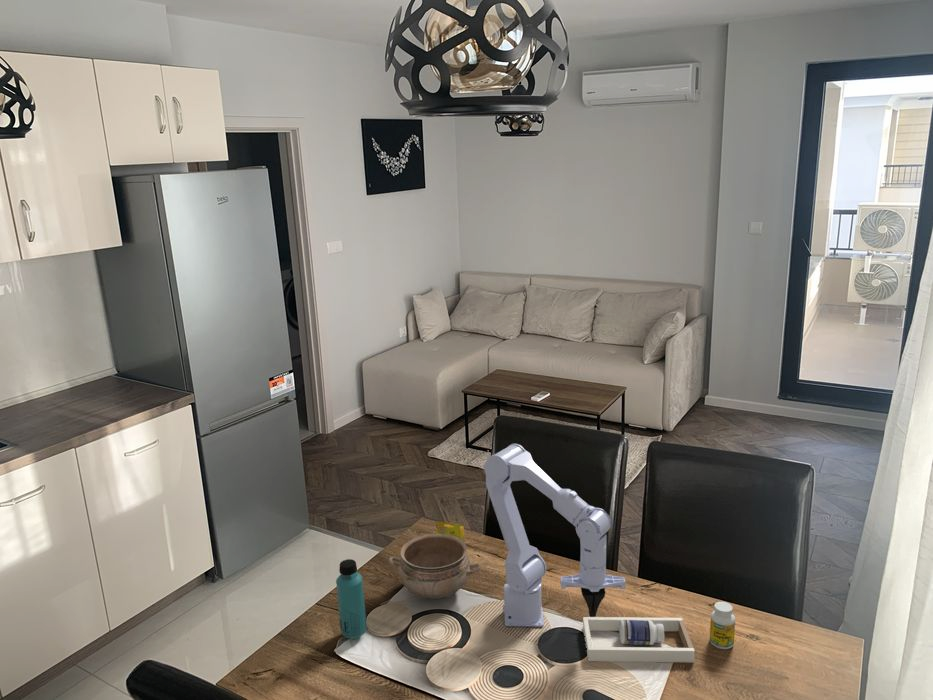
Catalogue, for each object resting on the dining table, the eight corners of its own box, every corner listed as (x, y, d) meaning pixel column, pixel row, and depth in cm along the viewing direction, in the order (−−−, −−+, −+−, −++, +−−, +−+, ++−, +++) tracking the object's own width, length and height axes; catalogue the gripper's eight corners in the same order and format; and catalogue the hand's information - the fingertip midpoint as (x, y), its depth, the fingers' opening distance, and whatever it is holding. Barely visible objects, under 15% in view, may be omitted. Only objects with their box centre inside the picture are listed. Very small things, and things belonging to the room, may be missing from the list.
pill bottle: (622, 645, 162) (665, 647, 161) (621, 620, 163) (664, 621, 162) (619, 642, 167) (661, 643, 166) (618, 618, 168) (660, 619, 167)
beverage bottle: (372, 630, 173) (366, 557, 168) (359, 647, 167) (353, 571, 162) (348, 625, 175) (342, 553, 170) (335, 642, 169) (328, 567, 164)
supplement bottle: (733, 637, 166) (735, 601, 164) (734, 652, 161) (737, 615, 159) (709, 633, 168) (711, 598, 165) (709, 648, 163) (711, 611, 160)
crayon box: (465, 556, 204) (464, 520, 202) (462, 562, 202) (460, 525, 199) (442, 552, 207) (440, 516, 204) (438, 557, 204) (436, 521, 202)
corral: (588, 661, 160) (588, 649, 159) (583, 627, 171) (583, 617, 170) (694, 662, 158) (694, 650, 157) (681, 628, 170) (682, 617, 169)
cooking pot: (488, 575, 195) (486, 535, 192) (475, 617, 177) (473, 573, 174) (401, 568, 200) (398, 529, 197) (380, 608, 182) (376, 565, 179)
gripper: (562, 571, 157) (561, 624, 160) (628, 572, 156) (626, 625, 159) (560, 554, 163) (559, 606, 167) (623, 555, 162) (621, 606, 166)
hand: (592, 614), depth 163 cm, fingers closed
